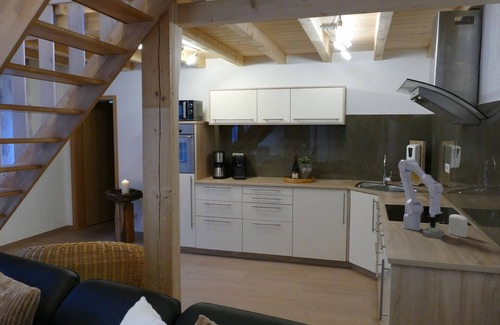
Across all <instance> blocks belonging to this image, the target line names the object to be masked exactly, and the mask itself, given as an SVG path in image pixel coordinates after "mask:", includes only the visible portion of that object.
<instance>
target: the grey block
mask: <svg viewBox="0 0 500 325" xmlns="http://www.w3.org/2000/svg"><path fill="white" fill-rule="evenodd" d="M444 236H445V230H444V229H439V232H438V233H435V232H429V227H425V229H423V231H422V237H426V238H427V237H428V238H434V239H443V237H444Z"/></svg>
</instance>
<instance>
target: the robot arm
mask: <svg viewBox="0 0 500 325" xmlns="http://www.w3.org/2000/svg"><path fill="white" fill-rule="evenodd" d="M398 162H399V163H398V165H397V166H398V171H399V176H400V179H401V184H402V186H403V190H404V194H405V197H406V200H407V201H406V202H405V204H404V205H405V206H404V208H405V213H404V215H403V225H402V228H403V229H405V230H413V231H418V232H419V231H420V230H421V229H422V226H421V215H422V214H423V212H424V206H423V204H422V203H421V201H420V200H419V199H418V198H417V196H416V193H415V192H416V191H415V189H414V186H413V183H412V179H411V176H410V175H411V173H412V172H414V173H415V174H416V175H417V176H418V177H419V178H420V179H421V181H420V182H422V183H423V184H424V185H425V186H426V188H427V190H428V194H429V209H428V210H429V211H428V212H429V215H427V219H428V221H429V223H430V227H431V228H435V225H436V222H438V223H439V219H440V218H441V215H442V214H443V211H441V202H442V200H441V199H442V193H443V192H444V188H445V187H444V186H443V184H442V183H438V182H437V181H436V180H435V179H434V178H433V176H432V175H431V174H427V173H425V171H423V169H422V168H421V166H419V162H417V160H416V159H412V158H411V159H400V161H398Z"/></svg>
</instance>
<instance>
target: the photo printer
mask: <svg viewBox="0 0 500 325" xmlns="http://www.w3.org/2000/svg"><path fill="white" fill-rule="evenodd" d="M468 222H469V221H468V218H467V217H465V216H464V215H461V214H455V213H454V214H450V215H449V218H448V234H450V235H453V236H456V237H462V238H467V236H468V225H469V224H468Z"/></svg>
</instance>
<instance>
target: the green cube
mask: <svg viewBox="0 0 500 325" xmlns="http://www.w3.org/2000/svg"><path fill="white" fill-rule="evenodd" d="M428 228H429V232H435V233H438V232H439V230H440V222H439V221H438V222H436V225H435V228H431V227H430V222H428Z"/></svg>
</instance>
